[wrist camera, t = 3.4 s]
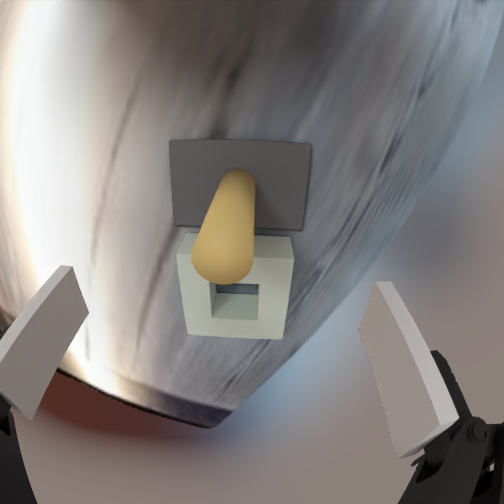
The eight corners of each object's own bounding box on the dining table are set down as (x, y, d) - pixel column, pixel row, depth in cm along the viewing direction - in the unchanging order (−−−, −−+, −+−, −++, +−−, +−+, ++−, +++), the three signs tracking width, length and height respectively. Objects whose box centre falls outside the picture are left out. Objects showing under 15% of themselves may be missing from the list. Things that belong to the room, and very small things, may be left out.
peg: (220, 200, 24) (193, 283, 14) (220, 168, 23) (188, 230, 13) (254, 202, 24) (251, 286, 14) (256, 169, 23) (254, 233, 13)
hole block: (194, 309, 32) (187, 334, 28) (186, 232, 27) (175, 254, 23) (280, 313, 32) (282, 339, 28) (289, 236, 27) (294, 258, 23)
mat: (175, 223, 26) (174, 224, 26) (170, 140, 22) (169, 141, 22) (301, 227, 26) (301, 229, 26) (310, 144, 22) (311, 144, 22)
